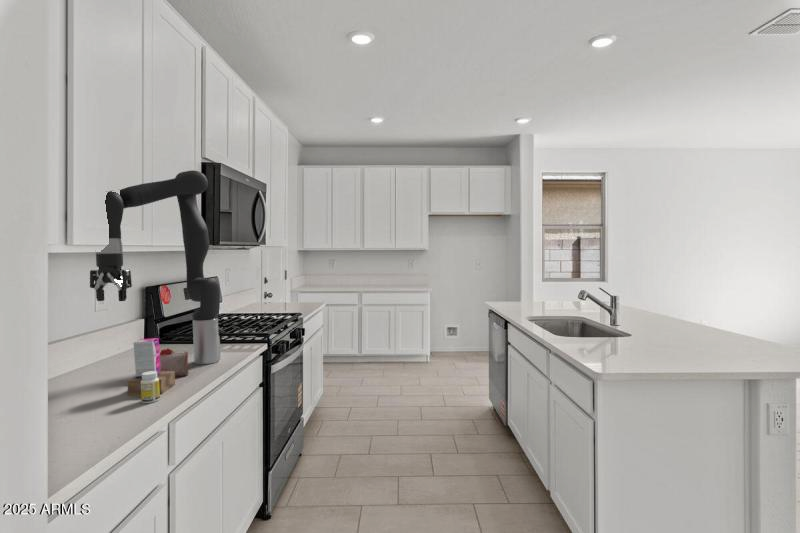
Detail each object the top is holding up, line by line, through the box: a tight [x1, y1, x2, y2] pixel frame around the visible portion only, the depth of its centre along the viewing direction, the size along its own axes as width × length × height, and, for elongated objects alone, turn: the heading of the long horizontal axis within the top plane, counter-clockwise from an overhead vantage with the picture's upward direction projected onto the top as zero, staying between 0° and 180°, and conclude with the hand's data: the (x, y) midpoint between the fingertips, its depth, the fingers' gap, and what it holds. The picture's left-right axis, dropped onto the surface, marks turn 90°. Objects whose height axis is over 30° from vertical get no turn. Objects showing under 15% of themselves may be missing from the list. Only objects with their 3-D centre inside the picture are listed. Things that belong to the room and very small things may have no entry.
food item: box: [160, 347, 189, 378], centre depth 160 cm, size 14×8×10 cm, turn 110°
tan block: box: [127, 371, 176, 397], centre depth 144 cm, size 10×10×5 cm
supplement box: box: [133, 337, 161, 378], centre depth 143 cm, size 6×6×12 cm
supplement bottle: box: [140, 371, 161, 404], centre depth 133 cm, size 5×5×8 cm
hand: (111, 301), depth 150 cm, fingers open, 8 cm apart
